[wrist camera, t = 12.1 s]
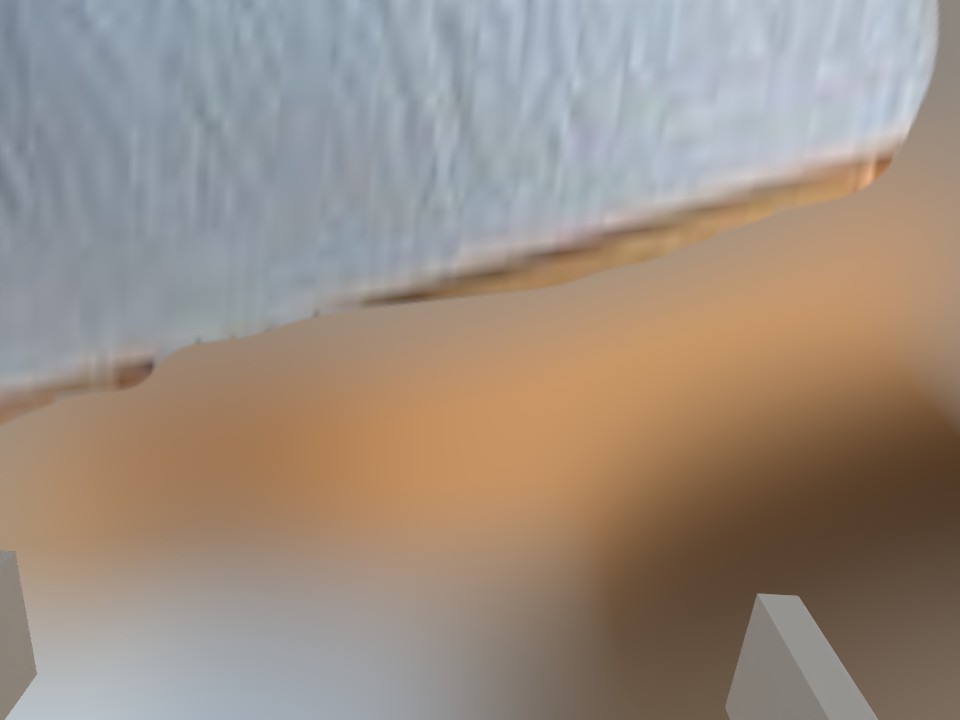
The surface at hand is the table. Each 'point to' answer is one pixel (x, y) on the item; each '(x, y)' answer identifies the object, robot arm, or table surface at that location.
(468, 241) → the table surface
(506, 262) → the table surface
